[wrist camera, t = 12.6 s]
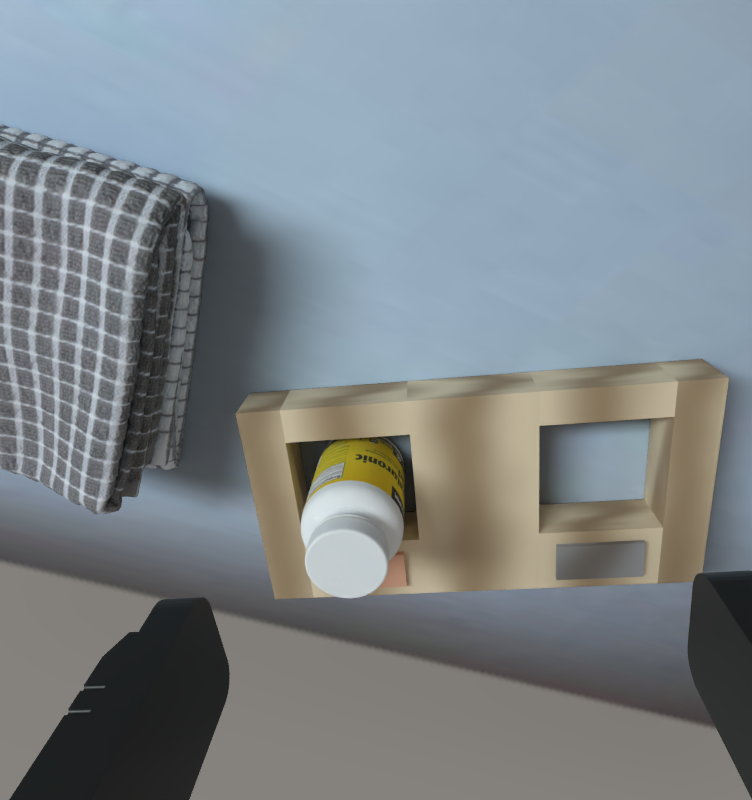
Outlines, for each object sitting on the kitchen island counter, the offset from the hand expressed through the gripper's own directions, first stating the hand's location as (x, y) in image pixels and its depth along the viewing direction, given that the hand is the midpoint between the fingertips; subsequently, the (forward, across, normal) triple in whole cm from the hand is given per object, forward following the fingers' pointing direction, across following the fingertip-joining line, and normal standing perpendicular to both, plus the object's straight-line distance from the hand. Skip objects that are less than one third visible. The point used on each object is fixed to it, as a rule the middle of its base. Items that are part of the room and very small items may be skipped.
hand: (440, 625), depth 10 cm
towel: (+24, +21, -2) cm, 32 cm away
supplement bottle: (+24, +5, +10) cm, 27 cm away
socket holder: (+24, -1, +11) cm, 27 cm away
